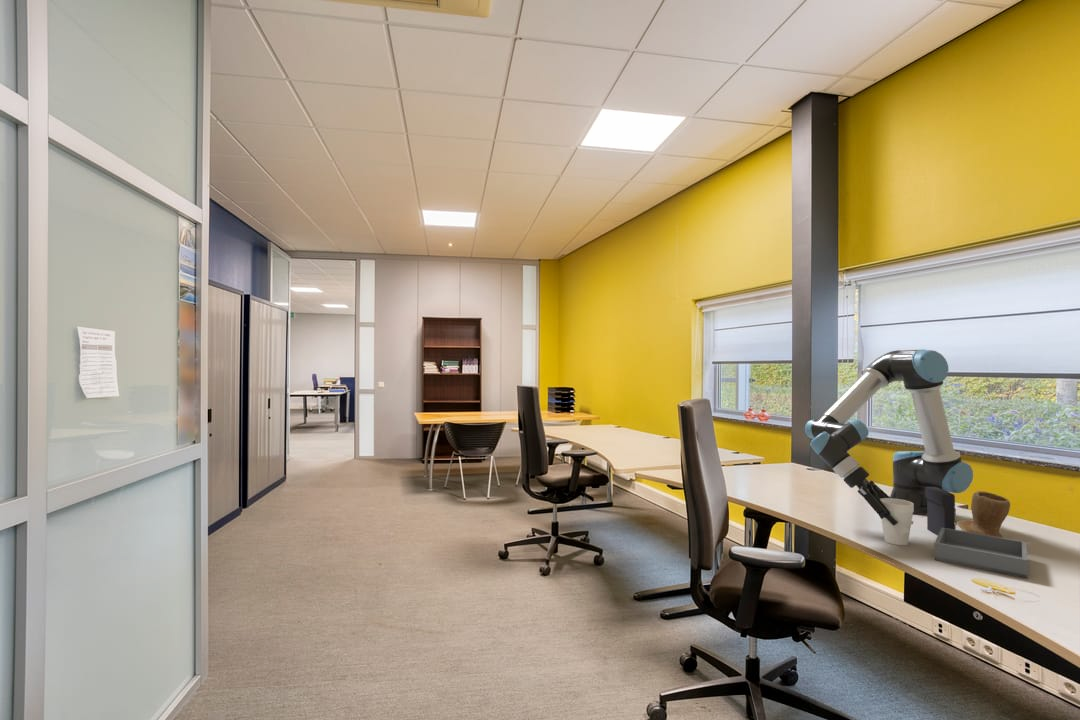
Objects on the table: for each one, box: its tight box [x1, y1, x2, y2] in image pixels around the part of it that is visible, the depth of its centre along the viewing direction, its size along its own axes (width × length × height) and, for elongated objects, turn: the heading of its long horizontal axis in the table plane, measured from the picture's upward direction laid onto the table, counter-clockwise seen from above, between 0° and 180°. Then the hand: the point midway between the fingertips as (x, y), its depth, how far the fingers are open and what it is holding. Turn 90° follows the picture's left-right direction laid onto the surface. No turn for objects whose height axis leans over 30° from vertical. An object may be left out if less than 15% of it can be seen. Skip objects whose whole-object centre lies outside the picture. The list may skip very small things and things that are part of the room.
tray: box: [934, 527, 1029, 580], centre depth 154 cm, size 20×20×5 cm
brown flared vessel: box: [956, 490, 1011, 538], centre depth 174 cm, size 15×12×15 cm
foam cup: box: [880, 498, 914, 546], centre depth 169 cm, size 10×9×13 cm
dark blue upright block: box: [925, 487, 957, 536], centre depth 176 cm, size 11×4×15 cm, turn 168°
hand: (907, 528), depth 167 cm, fingers closed on foam cup, 9 cm apart
